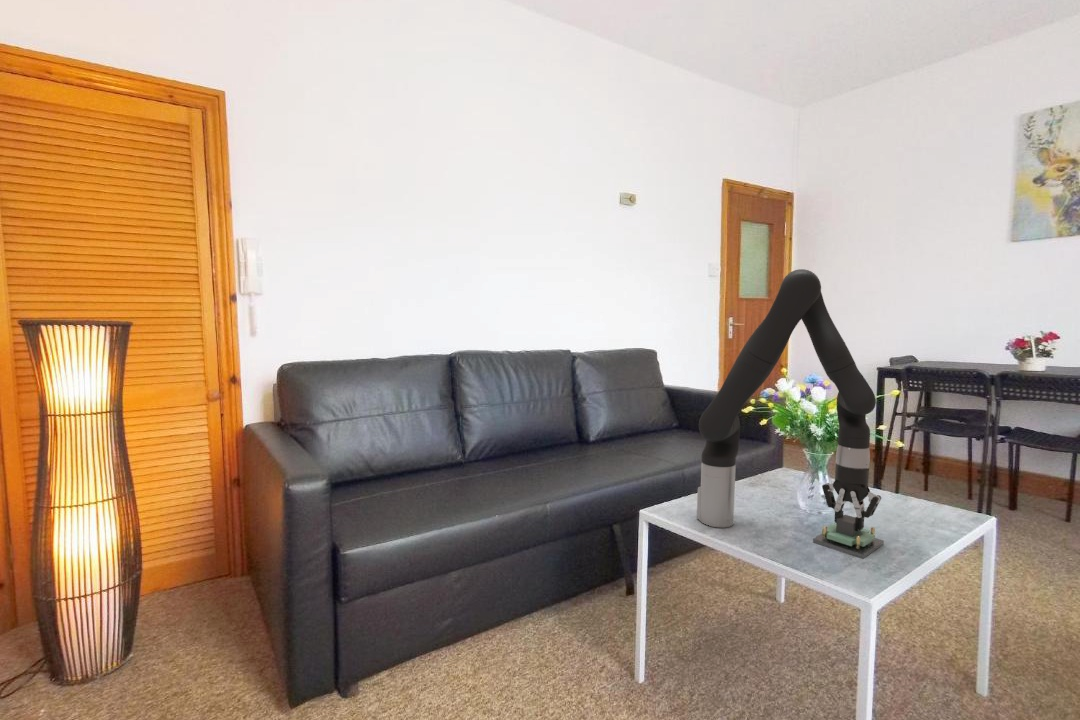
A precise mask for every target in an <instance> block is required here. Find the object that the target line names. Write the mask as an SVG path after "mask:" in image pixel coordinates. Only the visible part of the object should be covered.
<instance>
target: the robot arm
mask: <svg viewBox="0 0 1080 720" xmlns="http://www.w3.org/2000/svg"><path fill="white" fill-rule="evenodd" d="M800 321H802V322H803V324H804V327H805V329H806V331H807V333H808V335H809V338H810V340H811V343H812V345H813V349H814V351H815V354H816V356H817V358H818V360H819V362H820V365H821V366H822V368H823V370H824V372H825V374H826V376H827V378H828V379H829V380H830V381H831V382H832V383H834V385H835V387H836V388H837V390H838V392H837V395H836V413H837V420H838V435H837V436H838V437H837V448H836V451H835V452H836V453H835V468H834V469H835V471H834V473H835V474H834V481H833V482H832V483H830V482H827V483H824V484H822V485H821V488H822V492H823V494H824V495H823V496H824V498H825V502H826V505H827V507H828V508H831V509H833V511H834V519H833V520H834V523H837V519H838V518H840V517H842V516H843V515H844V510H843V509H844V508H845V504H846V503H847V502H849V503H851V504H852V505H853V509H854V510H855V514H856V516H855V517H856V518H855V522H856V526H855V531H857V532H859V531H860V530H862V529H865V528H864V527H865V518H867V519H869V518H870V517H872V516H873V515H874V513H875V511H876V510H877V508H878V506H879V505H880V502H881V500H882V496H881V495H879V494H874V493H873V492H871V490H870V487H869V481H870V480H869V479H870V466H871V460H870V459H871V453H870V451H871V450H870V443H871V442H870V441H871V429H870V427H869V425H868V423H867V415H868V414H870V413H872V412H873V411H874V409H875V408H876V404H877V399H876V395H875V392H874V391H873V389H872V387H871V386H870V384H869V383H868V380H866V378H865V377H864V375H863V374H862V372H860V370H859V369H858V368H859V367H858V366H857V363H856V362H855V360H854V358H853V356H852V354H851V351H850V350H849V348H848V346H847V344H846V342H845V341H844V339H843V337H842V335H841V334H840V331H839V330H838V328H837V327H836V325H835V323H834V321H833V320H832V318H831V316H830V313H829V311H828V309H827V306H826V304H825V301H824V296H823V293H822V285H821V281H820V278H819V277H818V275H817V274H815V272H812V271H811V270H809V269H805V268H804V269H802V268H801V269H800V268H799V269H795V270H793V271H791V272H789V273H787V275H785V277H784V278H783V280H782V282H781V284H780V287H779V290H778V292H777V295H776V297H775V299H774V301H773V303H772V305H771V307H770V309H769V311H768V313H767V315H766V316H765V317H764V319H763V320H762V322H760V324H759V325H758V326H757V327H756V329H755V330H754V332H752V334H751V335H750V337H749V338H748V339H747V341H746V342H745V344H744V345H743V347H742V349H741V351H740V352H739V354H738V356H737V357H736V359H735V361H734V363H733V365H732V367H731V368H730V370H729V372H728V373H727V376H726V378H725V379H724V381H723V384H721V385H722V386H721V387H720V390H718V392H717V394H716V395H715V396H714V398H713V400H712V401H711V402H710V404H709V405H708V406H707V407H706V409H705V410H704V411H703V412H702V413H701V415H700V418H699V420H698V431H699V432H700V436H702V438H703V439H704V440H705V441H706V443H705V446H704V448H703V450H702V452H701V467H700V469H701V470H700V486H698V487H697V493H696V495H697V497H696V498H697V500H696V501H697V503H696V520H698V519H699V520H698V521H700V523H702V524H703V523H704V524H703V525H705V524H706V526H708V525H709V526H710V527H712V528H729V527H732V526H733V525H734V519H735V515H734V514H735V497H736V496H735V495H736V494H735V490H736V467H737V466H736V465H737V464H736V461H737V456H738V454H739V448H740V447H739V446H740V435H741V433H740V431H741V423H740V418H739V413H740V412H741V410H742V408H743V407H744V406H745V404H746V402H748V400H749V399H750V398H751V397H752V396H753V395H754V394H755V393H756V392H757V390H758V389H760V387H761V386H762V385H763V384H764V383H765V381H767V379H768V378H769V376H770V375H771V372H772V371H773V370H774V369H775V367H776V365H777V363H778V362H779V360H780V358H781V357H782V355H783V352H784V351H785V349H786V348H787V347H786V346H787V344H788V342H789V341H790V338H791V335H792V334H793V332H794V330H795V328H796V327H797V325H798V324H799V322H800ZM834 491H835V492H836V494H837V498H835V495H834ZM866 497H867V498H868V502H869V504H868V505H867V508H866V510H865V501H864V499H866Z"/></svg>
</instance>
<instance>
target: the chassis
mask: <svg viewBox="0 0 1080 720" xmlns="http://www.w3.org/2000/svg"><path fill="white" fill-rule="evenodd" d="M827 527H828V526H826V525H823V527H822V529H823V534H822V533H821V534H819V535H817V536H816V537H813V539H812V543H814V544H817V545H820V546H823V547H826V548H829V549H833V550H835V551H839V552H842V553H844V554H848V555H851V556H855V557H857V558H859V559H865V558H866V557H868V556H869V555H870V554H872V553H874V552H875V551H876V550H877V549H879V548H881V547H882V546H884V543H885V541H884V540H883V539H879V538H876V537H875V540H873V541H872V542H870V543H869V544H867V545H866V546H864V547H862V546H860V536H857V537H856V544H854V545H853V546H849V545H846V544H843V543H840V542H836V541H833V540H830V539H827ZM875 528H876V527H874V526H871V527H870V534H873V535H875V536H876V534H875V532H876V529H875Z"/></svg>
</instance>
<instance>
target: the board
mask: <svg viewBox="0 0 1080 720" xmlns="http://www.w3.org/2000/svg"><path fill="white" fill-rule="evenodd" d="M856 517H857V516H852V515H850V514H849V515H848V514H843V516H842V517H840V518H838V519H837V523H835V522H834V523H831V524H830V525H828V526H826V527H827V539H830V540H833V541H836V542H840V543H843V544H846V545H849V546H853V545H854V544H856V537H857V536H860V546H862V547H864V546H866V545H867V544H869V543H870V542H872V541H873V540H875V538H876V534H875V535H873V534H871V529H870V530H869V529H865V528H863V529H862V530H860V531H859V532H857V531H855V526H856V522H855V518H856ZM821 534H823V528H822V531H821Z"/></svg>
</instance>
